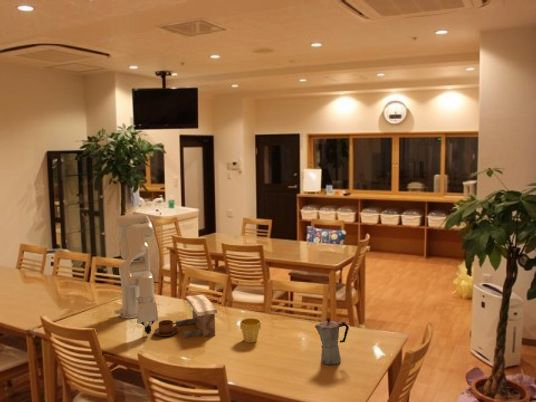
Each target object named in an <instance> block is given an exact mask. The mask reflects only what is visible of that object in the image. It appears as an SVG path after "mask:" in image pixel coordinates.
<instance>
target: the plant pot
mask: <svg viewBox="0 0 536 402" xmlns="http://www.w3.org/2000/svg"><path fill="white" fill-rule="evenodd" d="M261 322H262V321H261V320H260V319H258V318H255V317H248V318H243V319H242V320H240V322H239V325H240V326H239V327H240V330H241V334H242V336H243V337H242V338H243V341H244V342H245V343H249V344H250V343H251V344H252V343H256V342H257V341H258V337H259V333H260V329H262V328H261V327H262V326H261V325H262V323H261Z"/></svg>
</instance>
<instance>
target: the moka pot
mask: <svg viewBox="0 0 536 402" xmlns="http://www.w3.org/2000/svg"><path fill="white" fill-rule="evenodd" d="M342 327H345V331H344V334H343V338H342V340H339V337H340V336H339V335H340V334H339V333H340V328H342ZM314 328H315V329H316V330H317V333H318V335H319V338H320V342H321V355H320V357H321V359H320V362H321V363H323V364H324V365H326V366H327V365H329V366H333V365H337V364H340V363H341V360H342V358H341V353H340V349H339V343H340V344H341V343H342V344H343V343H345V342H346V339H347V336H348V332H349V329H350V327H349V325H348V324H347V322H345V321H342V322H336V321H333V320H332V321H331V319H330V318H326V321H321V322H319V323H318V324H315V326H314Z"/></svg>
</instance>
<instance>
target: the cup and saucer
mask: <svg viewBox="0 0 536 402" xmlns="http://www.w3.org/2000/svg"><path fill="white" fill-rule="evenodd" d="M174 324H175V326H174ZM178 327H179V326H178V324H177V323H176V322H173V320H170V319H163V320H159V321H158V327H157V328H156V329H155V330H154V331H153V332H154V334H155V335H157V336H158V337H168V336H173V335H176V333H178V331H179V330H178Z"/></svg>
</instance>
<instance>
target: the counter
mask: <svg viewBox="0 0 536 402" xmlns="http://www.w3.org/2000/svg"><path fill="white" fill-rule="evenodd" d="M185 298H186V299H185V300H186V302H187V303H188V304H189V306H190V307H191V311H192V314H191V315H192V318H187V319H179V320H175V323H177V324H178V326H177V327H179V326H180V327H181V326H187V325H193V324H194V325H195V326H196V328H197V329H195V330H193V329H192V330H188V331H187V330H186V331H182V338H190V337H197V336H203V338H208V337H214V336H216V319H215V317H216V314H218V309H217V308H216V306H214V305H213V303H212V302H211V301H210V299H209V298H207V296H206V295H205V294H196V295H189V296H186V297H185Z"/></svg>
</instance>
